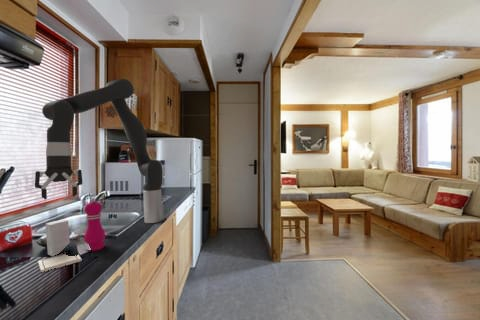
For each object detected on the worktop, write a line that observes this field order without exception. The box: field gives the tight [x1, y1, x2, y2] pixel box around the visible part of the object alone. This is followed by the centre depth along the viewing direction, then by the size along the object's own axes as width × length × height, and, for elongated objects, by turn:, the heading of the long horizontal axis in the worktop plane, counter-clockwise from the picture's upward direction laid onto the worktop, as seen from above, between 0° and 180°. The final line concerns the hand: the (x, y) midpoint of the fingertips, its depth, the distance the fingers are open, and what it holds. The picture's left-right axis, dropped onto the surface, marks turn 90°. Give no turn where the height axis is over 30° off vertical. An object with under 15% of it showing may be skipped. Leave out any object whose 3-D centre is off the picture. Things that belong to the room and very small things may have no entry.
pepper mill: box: [83, 197, 106, 252], centre depth 95 cm, size 7×7×20 cm
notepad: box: [37, 253, 83, 273], centre depth 84 cm, size 11×10×1 cm
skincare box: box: [45, 218, 71, 257], centre depth 91 cm, size 6×4×12 cm
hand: (59, 197), depth 90 cm, fingers open, 8 cm apart
